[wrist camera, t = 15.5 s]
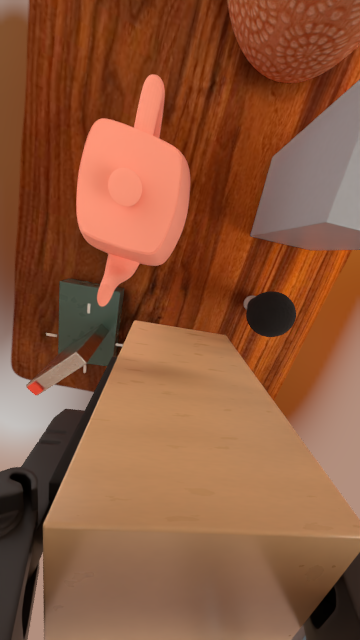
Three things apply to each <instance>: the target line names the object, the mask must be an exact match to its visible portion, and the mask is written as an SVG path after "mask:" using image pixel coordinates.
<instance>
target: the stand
mask: <svg viewBox="0 0 360 640" xmlns="http://www.w3.org/2000/svg"><path fill="white" fill-rule="evenodd" d="M250 236H251V237H255V238H260V239H264V240H268V241H272V242H277V243H281V244H285V245H290V246H294V247H298V248H303V249H307V250H360V80H359V81H358V82H356V83H355V84H354V85H353V86H352V87H351V88H350V89H349V90H347V91H346V92H345V93H344V94H343V95H342V96H341V97H340V98H338V99H337V100H336V101H335V102H334V103H333V104H332V105H331V106H329V107H328V108H327V109H326V110H325V111H324V112H323V113H321V114H320V115H319V116H318V117H317V118H316V119H315V120H314V121H312V122H311V123H310V124H309V125H308V126H307V127H306V128H305V129H303V130H302V131H301V132H300V133H299V134H298V135H297V136H296V137H294V138H293V139H292V140H291V141H290V142H289V143H288V144H286V145H285V146H284V147H283V148H282V149H281V150H280V151H279V152H277V153H276V154H275V155H274V156H273V157H272V160H271V164H270V168H269V171H268V175H267V178H266V182H265V185H264V189H263V192H262V196H261V199H260V203H259V206H258V210H257V214H256V217H255V221H254V224H253V228H252V231H251V235H250Z"/></svg>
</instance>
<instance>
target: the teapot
mask: <svg viewBox="0 0 360 640" xmlns="http://www.w3.org/2000/svg"><path fill="white" fill-rule="evenodd" d="M164 98H165V89H164V84H163V81H162V80H161V78H160V77H159V76H157V75H150V76H148V77H147V79H146V81H145V83H144V85H143V89H142V93H141V97H140V101H139V106H138V110H137V115H136V120H135V125H134V128H133V127H131V126H128V125H126V124H123V123H120V122H117V121H114V120H110V119H99V120H97V121H96V122H95V123H94V124H93V126H92V128H91V130H90V132H89V134H88V137H87V140H86V143H85V147H84V151H83V155H82V159H81V164H80V168H79V174H78V183H77V203H76V205H77V220H78V225H79V228H80V231H81V233H82V235H83V237H84V238H85V240H86V241H87V242H88V243H89V244H91V245H92V246H93V247H95V248H97V249H99V250H102V251H104V252H106V253H108V259H107V263H106V268H105V273H104V277H103V279H102V282H101V284H100V287H99V290H98V294H97V302H98V304H99V306H102V307H103V306H105V305H106V304H107V303H108V302H109V301H110V299H111V297H112V295H113V292H114V290H115V289H116V287H117V286H118V285H119V284H120V283H122V282H124V281H126V280H127V279H129V278H130V277H131V276H132V275H133V274H134V273H135V271H136V269H137V267H138V266H139V264H145V265H151V266H158V265H161V264H163V263H164V262H165V261H166V260H167V259H168V258H169V256H170V255H171V253H172V252H173V250H174V248H175V246H176V244H177V242H178V240H179V238H180V235H181V233H182V230H183V227H184V224H185V220H186V217H187V212H188V205H189V196H190V170H189V166H188V163H187V161H186V159H185V157H184V156H183V154H182V153H181V152H180V151H179V150H178V149H177V148H175V147H174V146H172V145H170V144H169V143H167V142H165V141H163V140H161V139H159V138H160V131H161V123H162V116H163V108H164Z"/></svg>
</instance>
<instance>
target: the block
mask: <svg viewBox="0 0 360 640" xmlns="http://www.w3.org/2000/svg"><path fill="white" fill-rule="evenodd" d="M359 552H360V519H359V518H358V517H357V515H356V514H355V513H354V511H353V510H352V508H351V507H350V506H349V504H348V503H347V502H346V500H345V499H344V497H343V496H342V495H341V493H340V492H339V490H338V489H337V488H336V486H335V485H334V484H333V482H332V481H331V479H330V478H329V477H328V475H327V474H326V473H325V471H324V470H323V468H322V467H321V466H320V465H319V463H318V462H317V460H316V459H315V458H314V456H313V455H312V453H311V452H310V451H309V449H308V448H307V446H306V445H305V444H304V442H303V441H302V440H301V438H300V437H299V435H298V434H297V433H296V431H295V430H294V428H293V427H292V426H291V424H290V423H289V422H288V420H287V419H286V417H285V416H284V415H283V413H282V412H281V411H280V409H279V408H278V407H277V405H276V404H275V402H274V401H273V400H272V398H271V397H270V395H269V394H268V393H267V391H266V390H265V389H264V387H263V386H262V384H261V383H260V382H259V380H258V379H257V378H256V376H255V375H254V373H253V372H252V371H251V369H250V368H249V366H248V365H247V364H246V362H245V361H244V360H243V358H242V357H241V355H240V354H239V353H238V351H237V350H236V349H235V347H234V346H233V344H232V343H231V342H230V340H229V339H228V338H227V336H226V335H221V334H215V333H209V332H203V331H197V330H191V329H185V328H179V327H172V326H166V325H160V324H154V323H148V322H142V321H136V320H135V321H134V322H133V324H132V326H131V329H130V331H129V333H128V335H127V338H126V340H125V342H124V344H123V347H122V349H121V351H120V353H119V356H118V358H117V360H116V362H115V364H114V367H113V369H112V371H111V373H110V376H109V378H108V380H107V382H106V385H105V387H104V389H103V391H102V394H101V396H100V398H99V400H98V402H97V405H96V407H95V409H94V411H93V414H92V416H91V418H90V420H89V423H88V425H87V427H86V429H85V432H84V434H83V436H82V438H81V440H80V443H79V445H78V447H77V449H76V452H75V454H74V456H73V458H72V461H71V463H70V465H69V467H68V470H67V472H66V474H65V476H64V478H63V481H62V483H61V485H60V487H59V490H58V492H57V494H56V496H55V499H54V501H53V503H52V505H51V508H50V510H49V512H48V514H47V516H46V519H45V521H44V523H43V574H44V575H43V580H44V640H291V639H292V638H293V637H294V636H295V634H296V633H297V632H298V631H299V629H300V628H301V627H302V625H303V624H304V623H305V622H306V620H307V619H308V618H309V616H310V615H311V614H312V613H313V611H314V610H315V609H316V607H317V606H318V605H319V604H320V602H321V601H322V600H323V599H324V597H325V596H326V595H327V593H328V592H329V591H330V590H331V588H332V587H333V586H334V584H335V583H336V582H337V581H338V579H339V578H340V577H341V575H342V574H343V573H344V572H345V570H346V569H347V568H348V567H349V565H350V564H351V563H352V561H353V560H354V559H355V558H356V556H357V555H358V554H359Z"/></svg>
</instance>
